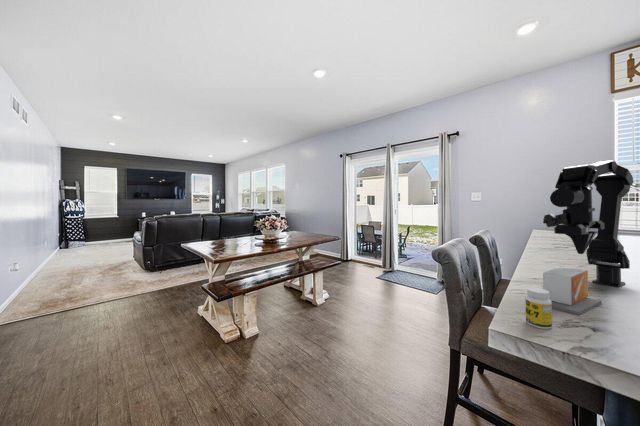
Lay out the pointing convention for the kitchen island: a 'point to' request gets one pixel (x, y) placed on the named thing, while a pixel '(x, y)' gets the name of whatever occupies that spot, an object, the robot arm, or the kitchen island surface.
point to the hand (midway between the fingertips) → (580, 253)
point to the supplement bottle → (538, 308)
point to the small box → (566, 284)
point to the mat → (577, 306)
